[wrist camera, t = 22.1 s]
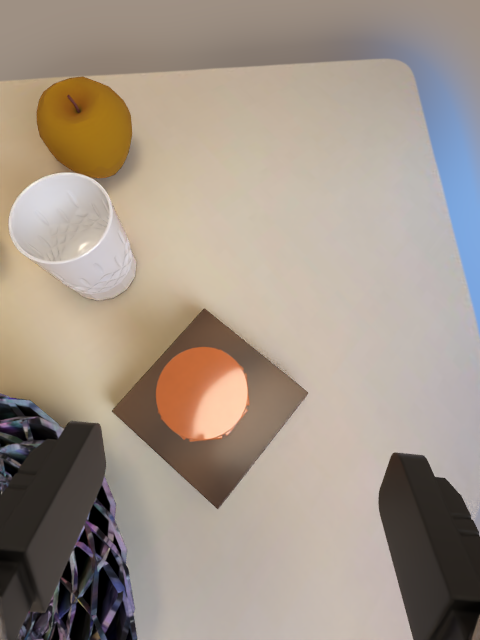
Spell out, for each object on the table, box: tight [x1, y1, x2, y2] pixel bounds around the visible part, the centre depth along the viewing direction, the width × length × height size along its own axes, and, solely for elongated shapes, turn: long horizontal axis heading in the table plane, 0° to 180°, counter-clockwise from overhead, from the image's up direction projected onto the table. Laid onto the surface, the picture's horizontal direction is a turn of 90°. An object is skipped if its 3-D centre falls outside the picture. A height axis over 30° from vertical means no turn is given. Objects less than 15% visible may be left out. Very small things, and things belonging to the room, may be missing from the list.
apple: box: [37, 77, 132, 178], centre depth 39 cm, size 8×8×9 cm
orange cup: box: [156, 347, 250, 442], centre depth 31 cm, size 6×6×8 cm
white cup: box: [8, 172, 137, 301], centre depth 35 cm, size 8×8×10 cm
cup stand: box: [112, 309, 308, 509], centre depth 33 cm, size 12×12×8 cm
